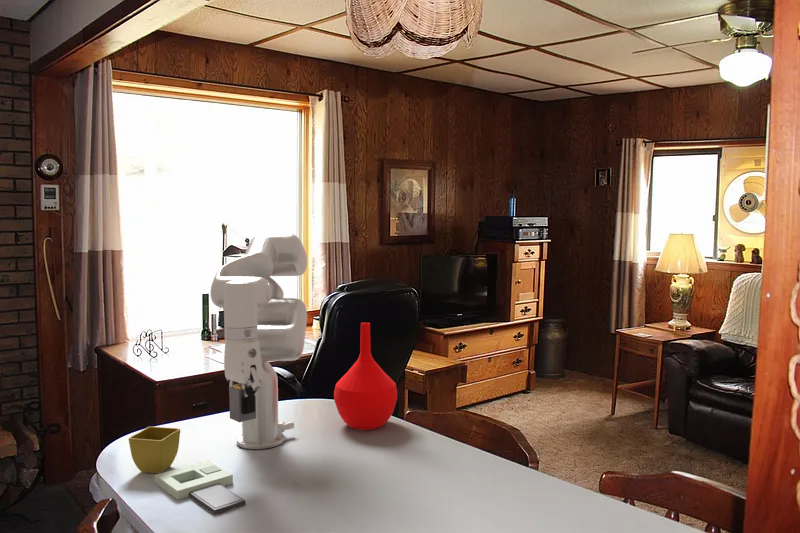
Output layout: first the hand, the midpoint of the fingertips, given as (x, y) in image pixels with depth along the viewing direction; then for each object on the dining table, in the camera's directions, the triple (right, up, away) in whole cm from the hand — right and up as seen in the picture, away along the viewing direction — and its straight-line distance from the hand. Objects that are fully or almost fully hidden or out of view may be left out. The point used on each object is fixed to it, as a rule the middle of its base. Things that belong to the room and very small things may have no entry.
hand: (242, 409), depth 155 cm
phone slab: (-2, -16, -14) cm, 22 cm away
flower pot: (-22, -15, +4) cm, 27 cm away
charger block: (0, -2, 0) cm, 2 cm away
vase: (+27, -13, +37) cm, 48 cm away
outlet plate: (-10, -16, -5) cm, 19 cm away
